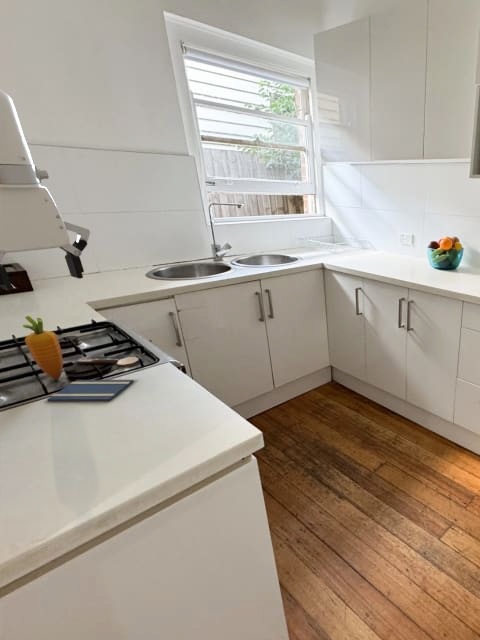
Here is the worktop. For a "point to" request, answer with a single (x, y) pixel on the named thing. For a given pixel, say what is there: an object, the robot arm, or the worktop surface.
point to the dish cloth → (91, 390)
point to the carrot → (44, 348)
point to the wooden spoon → (112, 361)
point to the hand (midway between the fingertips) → (44, 282)
